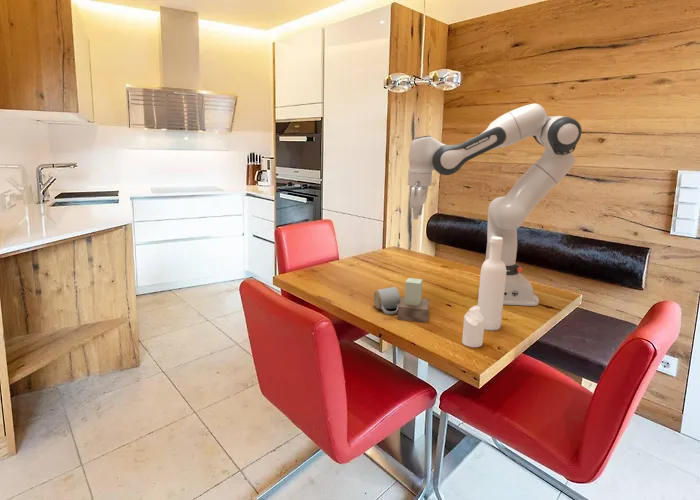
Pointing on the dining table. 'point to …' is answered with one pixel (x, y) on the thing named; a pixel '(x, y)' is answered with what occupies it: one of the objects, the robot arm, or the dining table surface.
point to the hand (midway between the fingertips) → (417, 217)
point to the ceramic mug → (387, 299)
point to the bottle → (492, 286)
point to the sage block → (413, 291)
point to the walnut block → (413, 311)
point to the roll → (473, 327)
